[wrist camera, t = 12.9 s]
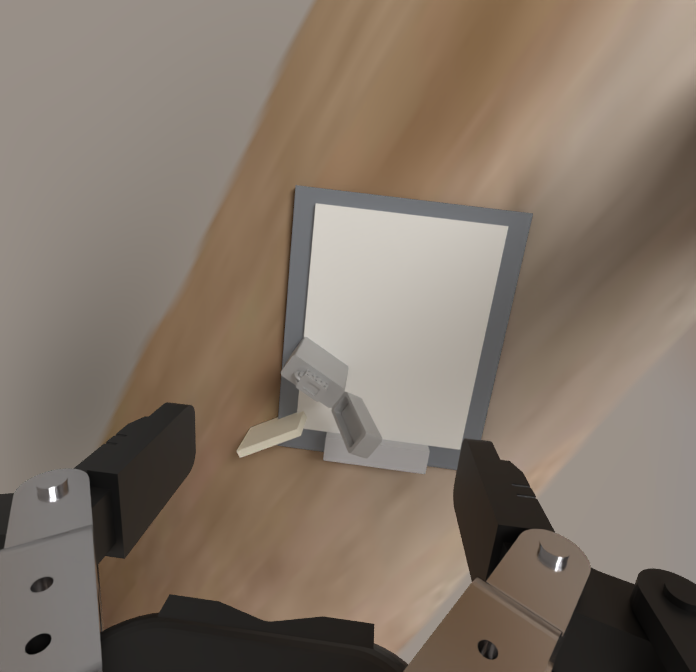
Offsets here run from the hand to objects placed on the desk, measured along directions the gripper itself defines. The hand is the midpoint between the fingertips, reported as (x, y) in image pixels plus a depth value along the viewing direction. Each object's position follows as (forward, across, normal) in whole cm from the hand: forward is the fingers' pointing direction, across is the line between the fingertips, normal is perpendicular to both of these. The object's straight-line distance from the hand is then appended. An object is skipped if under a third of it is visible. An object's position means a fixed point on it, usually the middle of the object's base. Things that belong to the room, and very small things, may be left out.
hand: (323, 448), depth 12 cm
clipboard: (+19, -3, +2) cm, 20 cm away
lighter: (+19, +1, +5) cm, 19 cm away
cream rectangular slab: (+19, +6, +10) cm, 22 cm away
